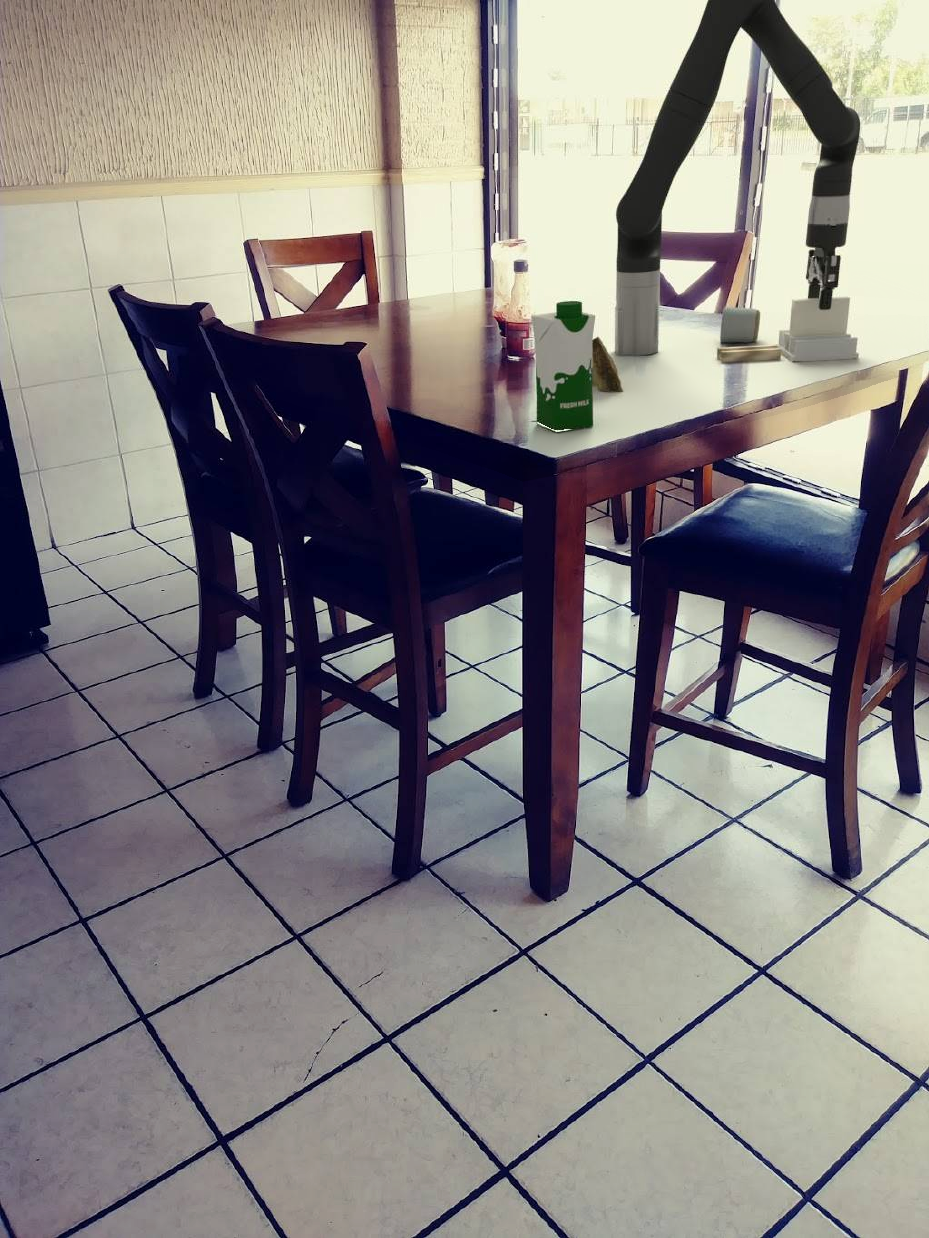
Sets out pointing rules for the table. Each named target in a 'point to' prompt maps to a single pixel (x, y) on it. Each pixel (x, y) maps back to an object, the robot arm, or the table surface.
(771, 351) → the stand
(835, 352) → the rack
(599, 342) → the rock
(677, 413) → the table surface
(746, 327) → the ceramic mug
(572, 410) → the milk carton
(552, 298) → the table surface
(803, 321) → the plate
